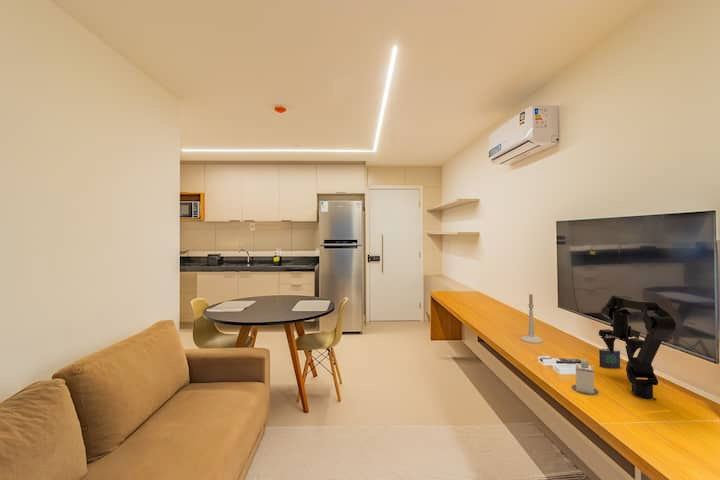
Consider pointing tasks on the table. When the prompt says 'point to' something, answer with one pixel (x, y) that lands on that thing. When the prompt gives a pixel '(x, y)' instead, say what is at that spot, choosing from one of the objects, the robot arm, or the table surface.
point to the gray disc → (584, 392)
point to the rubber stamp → (584, 377)
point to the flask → (609, 358)
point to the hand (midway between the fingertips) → (620, 356)
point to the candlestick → (531, 326)
